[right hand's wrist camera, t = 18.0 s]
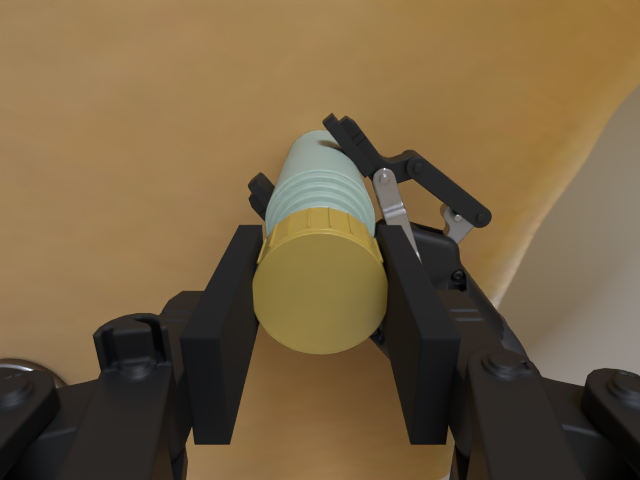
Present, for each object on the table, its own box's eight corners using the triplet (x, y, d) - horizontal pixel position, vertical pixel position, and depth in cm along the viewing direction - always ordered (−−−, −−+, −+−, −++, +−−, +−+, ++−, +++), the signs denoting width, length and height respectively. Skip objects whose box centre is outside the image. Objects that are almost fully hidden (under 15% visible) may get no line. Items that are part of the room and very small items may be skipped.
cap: (236, 251, 14) (220, 284, 12) (333, 180, 14) (336, 202, 11) (308, 333, 16) (306, 377, 13) (403, 274, 15) (417, 310, 12)
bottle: (300, 203, 32) (275, 368, 14) (277, 142, 30) (216, 241, 12) (361, 183, 31) (415, 328, 13) (341, 120, 30) (373, 190, 12)
